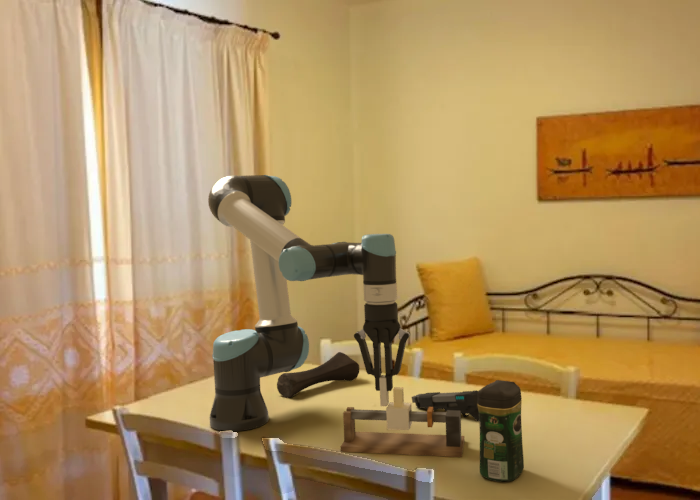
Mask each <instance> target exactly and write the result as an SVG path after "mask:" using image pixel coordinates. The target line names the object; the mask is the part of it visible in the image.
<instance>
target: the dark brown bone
mask: <svg viewBox="0 0 700 500" xmlns="http://www.w3.org/2000/svg"><path fill="white" fill-rule="evenodd" d="M359 374H360V365H359V363H358V362H357V361H355V360H354V359H353V358H351V357H350V356H349V355H347V354H345V353H344V352H341V351H339V352H337V353H336V354H334V355H333V356H332V357H331V358H329V360H327V361H326V362H324V363H322V364H320V365H318V366H316V367H314V368H311V369H308V370H307V369H306V370H303V371H295V372H282V373H281V374H280V375H279V377H278V378H277V382H276V388H277V391H278V393H279V394H280V395H281V396H282V397H284V398H286V399H291V398H293V397H295V396H296V395H298V394H299V393H301V392H302V391H304V390H305V389H307V388H309V387H312V386H314V385H318V384H320V383H324V382H332V381H333V382H334V381H336V382H337V381H340V382H342V381H344V382H353V381H354V380H355V379H357V377H358V376H359Z"/></svg>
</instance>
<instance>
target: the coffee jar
mask: <svg viewBox="0 0 700 500" xmlns="http://www.w3.org/2000/svg"><path fill="white" fill-rule="evenodd" d="M477 391H478V393H477V395H478V404H477V405H478V411H479V422H478V423H479V473H480V476H482V477H484V478H485V479H487V480H489V481H491V482H492V481H493V482H497V483H500V482H512V481H514V480H516V479H517V478H519V476H520V475H521V474H522V473H523V471H524V469H525V468H524V466H525V463H524V460H525V459H524V449H523V447H524V446H523V430H522V401H523V400H522V391H521V387H520V386H519V385H518V384H517V383H516V382H515V381H510V380H509V381H508V380H499V379H497V380H496V379H495V381H493V382H490V383H488V384H487V385H485V386H483V387H482V388H480V389H479V390H477Z"/></svg>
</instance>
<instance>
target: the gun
mask: <svg viewBox="0 0 700 500" xmlns="http://www.w3.org/2000/svg"><path fill="white" fill-rule="evenodd" d="M478 391H479V390H468V391H467V390H463V391H459V392H458V391H457V392H454V391H453V392H440V391H436V392H434V391H433V392H425V393H418V394H416V395H413V396H411V401H412V402H411V404H413V403H414V404H415V407H416V409H419V410H420V409H425V410H426V411H427V410H428V408H429V407H433V411H437V410H444V412H447V410H457V411H461V415H462V416H463V417H464V418H467V417H469V416H471V417H472V418H473V419H474V420H475V421H476V422H478V423H479V411H478V405H477V404H478V395H477V393H478Z"/></svg>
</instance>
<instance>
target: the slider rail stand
mask: <svg viewBox="0 0 700 500" xmlns="http://www.w3.org/2000/svg"><path fill="white" fill-rule="evenodd" d="M345 409H346V411H345V410H344V411H343V413H342V415H343V416H342V417H343V419H342V420H343V439H344V440H343V442H342V443H341V445H340V452H343V451H344V452H345V453H347V452H348V453H367V454H368V453H369V454H386V455H387V454H390V455H407V456H408V455H410V456H430V457H431V456H432V457H450V458H451V457H453V458H454V457H457V458H463V457H462V456H463V451H464V447H465V439H466V438H465V435H462V419H461V417H462V416H461V415H462V414H461V411H457V410H447V411H446V412H445V411H434V410H433V407H429V408H428V410H426V411H419V410H417V411H413V410H412V411H409V421H410V422H412V423H426V424H427V428H433V426H434V423H438V424H439V423H441V424H442V423H445V434H428V433H427V434H426V433H425V434H424V433H403V432H402V433H401V432H400V433H399V432H398V433H396V432H379V431H378V432H377V431H376V432H374V431H356V420H360V421H383V422H384V421H385V422H387V416H386V409H385V410H384V409H383V410H379V409H355V407H354V406H347V407H346V408H345Z"/></svg>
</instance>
